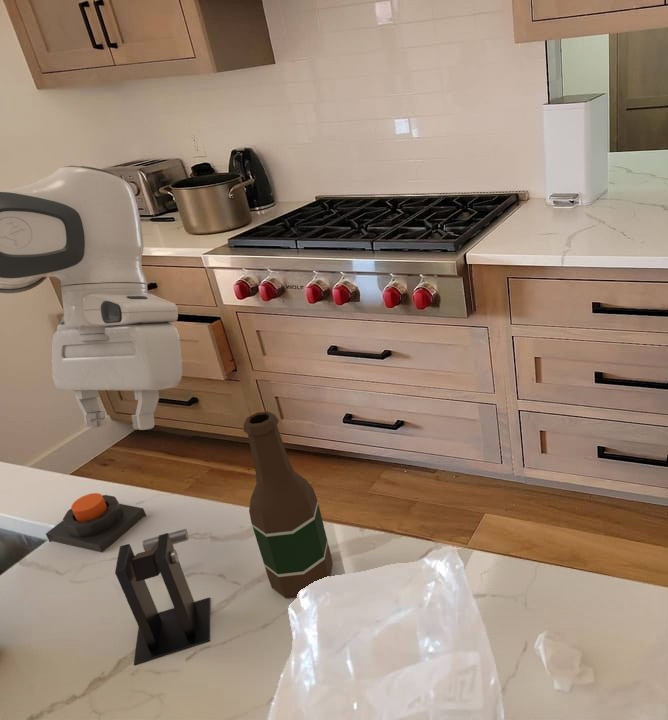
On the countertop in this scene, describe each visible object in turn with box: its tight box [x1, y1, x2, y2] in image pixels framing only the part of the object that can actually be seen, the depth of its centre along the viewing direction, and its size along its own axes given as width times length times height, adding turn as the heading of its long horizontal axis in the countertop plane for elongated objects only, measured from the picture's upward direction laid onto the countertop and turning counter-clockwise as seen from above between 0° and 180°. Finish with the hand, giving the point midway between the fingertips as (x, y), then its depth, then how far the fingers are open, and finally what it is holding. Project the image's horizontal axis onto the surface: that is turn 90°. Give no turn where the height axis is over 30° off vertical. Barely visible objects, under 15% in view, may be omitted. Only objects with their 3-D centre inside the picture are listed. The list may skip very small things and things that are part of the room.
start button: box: [70, 492, 107, 522], centre depth 95 cm, size 4×4×2 cm
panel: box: [45, 494, 147, 553], centre depth 96 cm, size 10×8×4 cm
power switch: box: [114, 532, 212, 666], centre depth 76 cm, size 7×8×13 cm
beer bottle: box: [243, 410, 334, 600], centre depth 79 cm, size 8×8×24 cm
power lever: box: [131, 528, 190, 582], centre depth 79 cm, size 13×5×2 cm, turn 20°
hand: (119, 428), depth 80 cm, fingers open, 8 cm apart
